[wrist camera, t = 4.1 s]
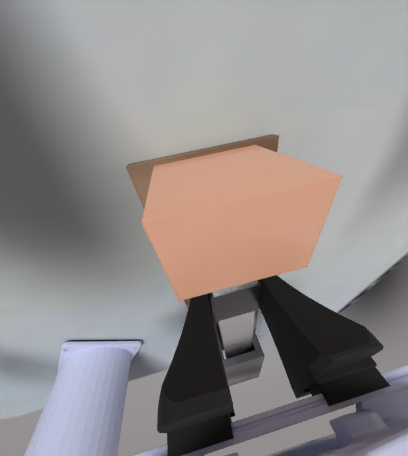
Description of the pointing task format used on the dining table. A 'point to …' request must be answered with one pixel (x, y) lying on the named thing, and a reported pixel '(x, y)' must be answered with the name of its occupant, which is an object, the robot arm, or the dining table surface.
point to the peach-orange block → (235, 217)
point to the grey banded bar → (236, 316)
